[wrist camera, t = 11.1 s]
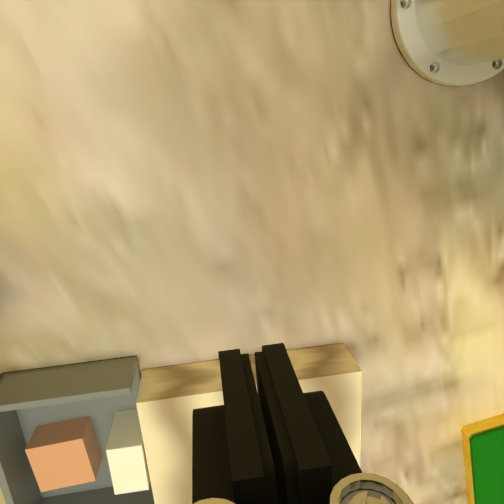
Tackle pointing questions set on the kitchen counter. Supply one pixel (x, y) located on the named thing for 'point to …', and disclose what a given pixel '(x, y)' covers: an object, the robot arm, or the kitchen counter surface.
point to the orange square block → (64, 453)
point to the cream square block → (127, 454)
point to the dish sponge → (484, 460)
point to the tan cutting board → (210, 394)
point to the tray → (61, 409)
